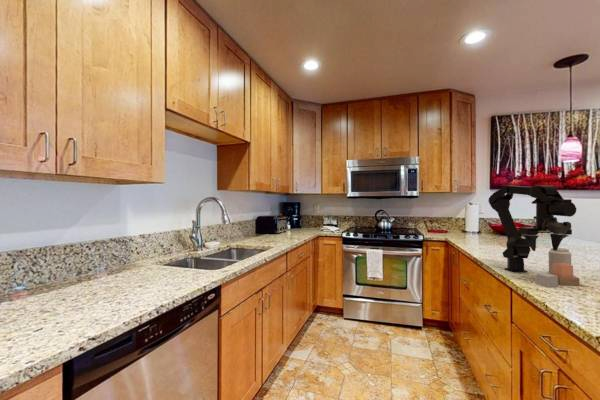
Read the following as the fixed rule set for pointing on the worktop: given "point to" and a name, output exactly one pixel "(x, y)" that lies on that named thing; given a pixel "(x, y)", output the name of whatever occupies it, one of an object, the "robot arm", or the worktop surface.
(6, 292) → the worktop surface
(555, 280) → the slate cube
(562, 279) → the walnut base
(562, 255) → the can
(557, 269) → the terracotta cube
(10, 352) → the worktop surface
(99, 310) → the worktop surface
